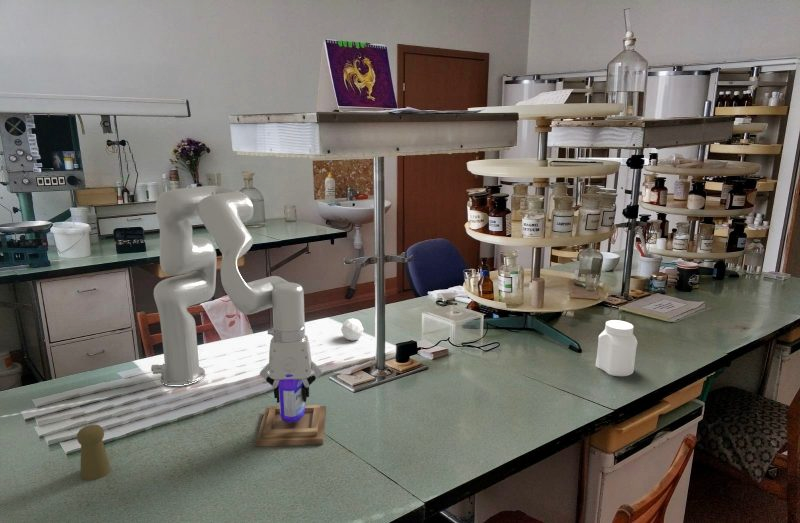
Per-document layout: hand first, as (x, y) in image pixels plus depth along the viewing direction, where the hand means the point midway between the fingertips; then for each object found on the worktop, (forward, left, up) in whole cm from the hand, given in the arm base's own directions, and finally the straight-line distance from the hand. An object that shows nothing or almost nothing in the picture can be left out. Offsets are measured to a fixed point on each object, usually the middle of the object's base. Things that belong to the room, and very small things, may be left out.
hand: (292, 399), depth 143 cm
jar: (+99, +30, -8) cm, 104 cm away
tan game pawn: (-42, -16, -8) cm, 46 cm away
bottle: (0, 0, -5) cm, 5 cm away
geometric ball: (+15, +58, -8) cm, 60 cm away
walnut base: (0, 0, -8) cm, 8 cm away
